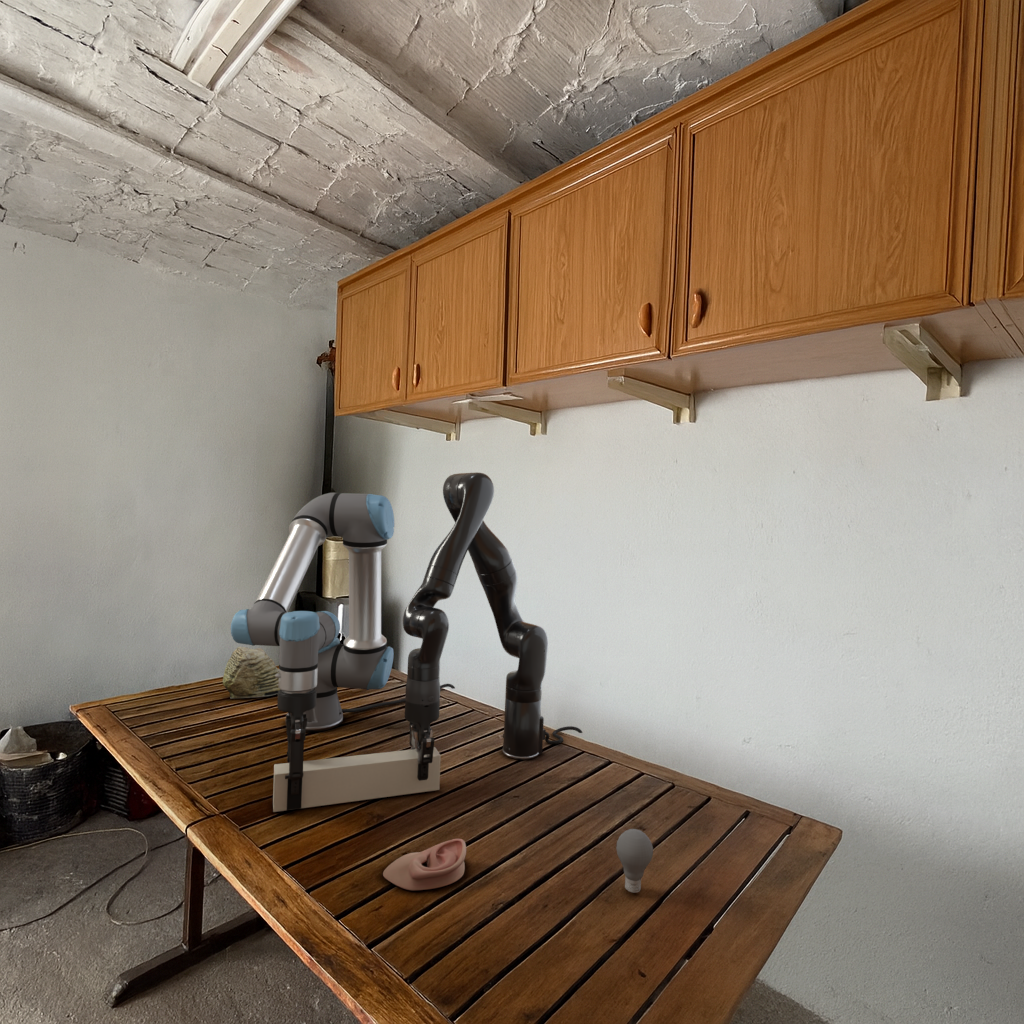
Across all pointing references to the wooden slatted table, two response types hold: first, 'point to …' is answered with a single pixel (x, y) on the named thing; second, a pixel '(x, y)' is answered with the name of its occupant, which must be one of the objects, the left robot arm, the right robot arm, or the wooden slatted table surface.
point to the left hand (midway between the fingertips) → (293, 801)
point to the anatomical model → (429, 867)
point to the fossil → (250, 674)
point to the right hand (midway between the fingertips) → (419, 773)
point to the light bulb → (634, 857)
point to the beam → (357, 778)
